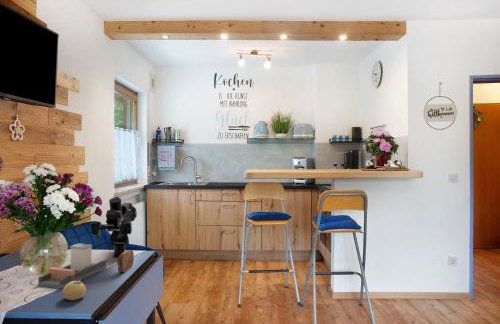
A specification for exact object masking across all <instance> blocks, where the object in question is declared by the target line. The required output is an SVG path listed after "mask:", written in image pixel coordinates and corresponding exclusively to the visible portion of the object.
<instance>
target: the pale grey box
mask: <svg viewBox="0 0 500 324" xmlns="http://www.w3.org/2000/svg"><path fill="white" fill-rule="evenodd" d="M92 247H93V245H92V244H90V243H81V242H79V243H76V244H73V245H70V264H71V269H73V270H76V271H80V270H83V269H85V268H87V267H89V266H91V263H92Z"/></svg>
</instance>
